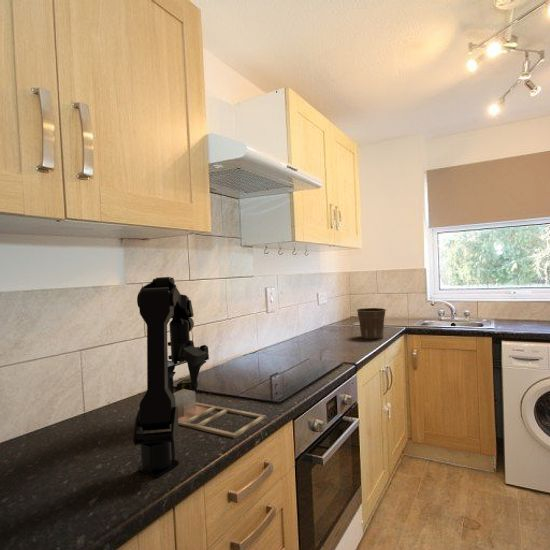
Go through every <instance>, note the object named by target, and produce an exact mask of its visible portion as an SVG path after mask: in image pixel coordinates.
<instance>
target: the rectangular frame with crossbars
mask: <svg viewBox="0 0 550 550" xmlns="http://www.w3.org/2000/svg"><path fill="white" fill-rule="evenodd" d="M213 411H219V412H216V413H215V414H213V415H211V416H209V417H208V418H205V419H203V420H202V421H200V422H198V423H192V422H195V421H196V420H199V419H200V418H202V417H203V416H206V415H207V414H210V413H212V412H213ZM227 413H231V414H236V415H241V416H244V417H245V416H246V417H250V418H256V419H254V420H252V421H251V422H249V423H248V424H246V425H244V426H243V427H241V428H240V429H238V430H236V431H234V432H231V431H226V430H222V429H218V428H214V427H209V426H205V425H206V424H208V423H210V422H212V421H214V420H216V419H217V418H219V417H221V416H223V415H225V414H227ZM265 419H267V415H264V414H259V413H255V412H249V411H243V410H238V409H235V408H228V407H223V406H218V405H212V404H207V403H202V402H198V401H196V411H194V412H192V413H190V414H188V415H186V416H180V415H178V426H179V425H180V426H183V427H187V428H190V429H191V428H192V429H196V430H199V431H202V432H203V431H204V432H208V433H213V434H216V435H220V436H223V437H228V438H232V439H236V438H237V437H238V436H239V437H240V435H242V434H243V433H245V432H246V431H248V430H250V429H251V428H253V427H254V426H256V425H257V424H259V423H260V422H262V421H263V420H265Z"/></svg>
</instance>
